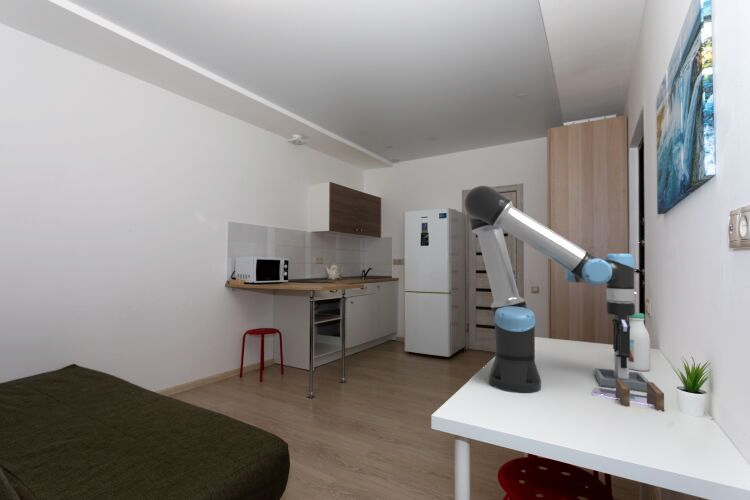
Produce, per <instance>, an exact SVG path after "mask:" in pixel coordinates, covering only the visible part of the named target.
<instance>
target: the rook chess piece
mask: <svg viewBox="0 0 750 500" xmlns="http://www.w3.org/2000/svg"><path fill="white" fill-rule="evenodd" d="M618 354H619V352H618V351H616V352H614V356H615V355H618ZM616 359H617V362H616V367H615V366H614V369H612V370H613V372H614V374H613V375H614V376H615V377H618V357H617V358H616ZM629 377H630V376H629ZM623 379H624V378H623Z"/></svg>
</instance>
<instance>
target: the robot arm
mask: <svg viewBox="0 0 750 500" xmlns="http://www.w3.org/2000/svg"><path fill="white" fill-rule="evenodd" d="M464 209H465V211H466V214H467V216H468V220H469V224H470V228H471V233H473V234H476V236H477V239H478V243H479V246H480V250H481V254H482V259H483V262H484V267H485V271H486V274H487V279H488V283H489V287H490V290H491V294H492V298H493V302H492V303H491V304H490V309H491V312H492V317H493V322H494V360H493V362H492V365H491V369H490V372H489V374H488V383H489V384H490V385H491V386H493V387H495V388H496V389H500V390H503V391H506V392H507V391H508V392H513V393H535V392H538V391H540V390H541V389H542V379H541V376H540V373H539V370H538V368H537V364H536V361H535V360H536V357H535V355H536V351H535V348H536V347H535V346H536V344H535V343H536V341H535V337H536V335H535V333H536V331H535V330H536V326H535V324H536V318H535V313H534V311H532V310H531V309H529V308H528V307H527V303H526V299H524V298H523V297H521V296H520V295H519V290H518V286H517V282H516V279H515V273H514V271H513V266H512V263H511V259H510V255H509V252H508V247H507V244H506V239H505V235H504V231H505V232H507V233H508V234H510V235H512V236H513V237H515V238H517V239H518V240H520V241H522V242H523V243H524V244H526V245H528V246H529V247H531V248H532V249H534V250H535V251H537V252H538V253H540V254H542V255H543V256H544V257H546V258H548V259H549V260H551V261H553V262H554V263H556V264H557V265H559V266H561V267H562V268H563V269H564V275H565V280H566V281H567V282H569V283H575V284H577V283H583V284H589V285H591V286H600V285H604V284H606V294H605V295H606V301H607V302H606V313H607V314H608V315H614V318H613V319H612V320H611V321H612V342H613V343H612V348H613V352H614V353H616V351H618V352H619V354H618V355H615V354H614V368H615V367H616V362H617V359H616V358H617V357H618V378H624V379H629V372H630V369H629V367H628V358H629V357H630V325H629V323H630V320H629V321H628V317H629V316H632V315H634V314H635V313H636V305H635V296H636V295H637V294H638V293H637V291H635V269H636V267H635V258H634V256H633V255H632V254H631V253H608V254H606V256H605V259H602V258H599V257H596V256H594V255H593V254H592V253H589V252H587V251H586V250H585V249H583V248H582V247H580V246H578V245H577V244H575V243H574V242H572V241H570V240H569V239H567V238H565V237H564V236H562V235H560V234H559V233H557V232H555V231H553V230H552V229H551V228H549V227H547V226H546V225H544V224H543V223H541V222H539V221H537V220H536V219H534V218H533V217H531V216H530V215H528V214H527V213H525V212H523V211H521V210H519V209H518V208H516V207H515V206H514V205H513V201H512V200H510V199H508V198H507V197H506V196H504V195H502V194H501V193H500V192H499V191H497V190H495V189H494V188H493V187H491V186H488V185H487V186H486V185H478V186H476V187H474V188H472V189H471V190H469V191H468V192H467V194H466V195H465V199H464Z"/></svg>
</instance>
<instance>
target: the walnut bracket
mask: <svg viewBox="0 0 750 500" xmlns="http://www.w3.org/2000/svg"><path fill="white" fill-rule="evenodd" d="M615 391H616V393H617V395H618V397H619V398H620V403H621V405H622V404H623V405H625V406H624V407H629V406H630V404H631V403H630V391H631V390H630V389H629V388H628V387H627V385H626V384H625V383H624V381H623V380H622V379H618V378H616V389H615ZM646 396H647V397H648V398H649V399H650V401H651V402H652V403H653V404H654V406H655V407H654V408H655V410H656V411H658V410H663V411H662V412H665V393H664V392H663V391H662V390H661V389H660V388H659V387H658V385H656V384H655V383H654V382H652V381H649V382H647V392H646ZM623 405H622V406H623ZM630 407H631V406H630Z"/></svg>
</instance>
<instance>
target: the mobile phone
mask: <svg viewBox="0 0 750 500" xmlns="http://www.w3.org/2000/svg"><path fill="white" fill-rule="evenodd" d="M590 395H591V396H594V397H598V396H599V397H600V398H604V397H605V398H604V399H609V398H612V399H611V400H614V399H619V400H620V398H619V397H618V395H617V393H616V390H613V389H609V388H603V387H593V388H592V390H591V392H590ZM619 400H618V401H619ZM630 402H633V403H632V404H635V403H638V404H637V405H641V404H643V406H646V405H649V406H648V407H652V406H654V404H653V403H652V402H651V401H650V399H649V398H648V397H647V395H641V394H636V393H630Z"/></svg>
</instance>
